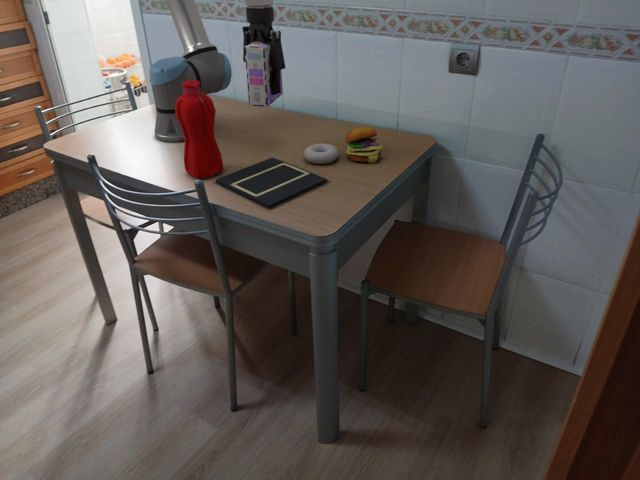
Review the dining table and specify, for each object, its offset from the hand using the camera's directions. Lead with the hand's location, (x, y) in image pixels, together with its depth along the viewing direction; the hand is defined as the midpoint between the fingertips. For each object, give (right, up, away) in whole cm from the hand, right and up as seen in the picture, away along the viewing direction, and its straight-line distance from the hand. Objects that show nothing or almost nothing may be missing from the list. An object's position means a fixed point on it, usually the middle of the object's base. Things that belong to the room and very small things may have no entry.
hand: (265, 90), depth 151 cm
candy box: (0, -3, +2) cm, 3 cm away
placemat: (+3, -28, -13) cm, 31 cm away
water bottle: (-16, -25, -7) cm, 30 cm away
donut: (+16, -20, -1) cm, 26 cm away
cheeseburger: (+28, -20, 0) cm, 34 cm away
